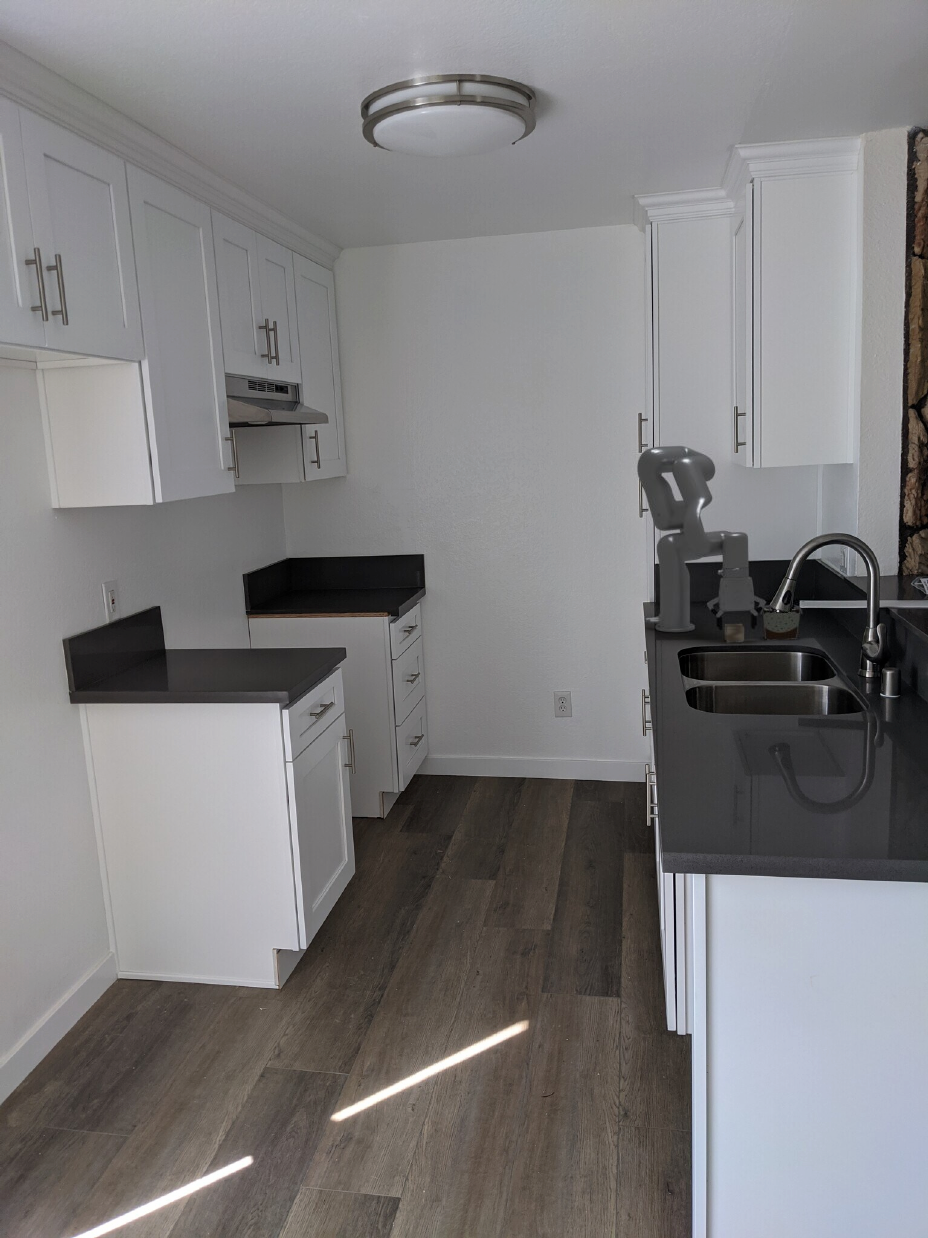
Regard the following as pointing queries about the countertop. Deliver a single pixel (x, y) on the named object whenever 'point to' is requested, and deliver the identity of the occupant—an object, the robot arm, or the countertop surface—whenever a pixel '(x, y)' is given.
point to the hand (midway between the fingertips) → (736, 628)
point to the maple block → (734, 632)
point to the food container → (781, 623)
